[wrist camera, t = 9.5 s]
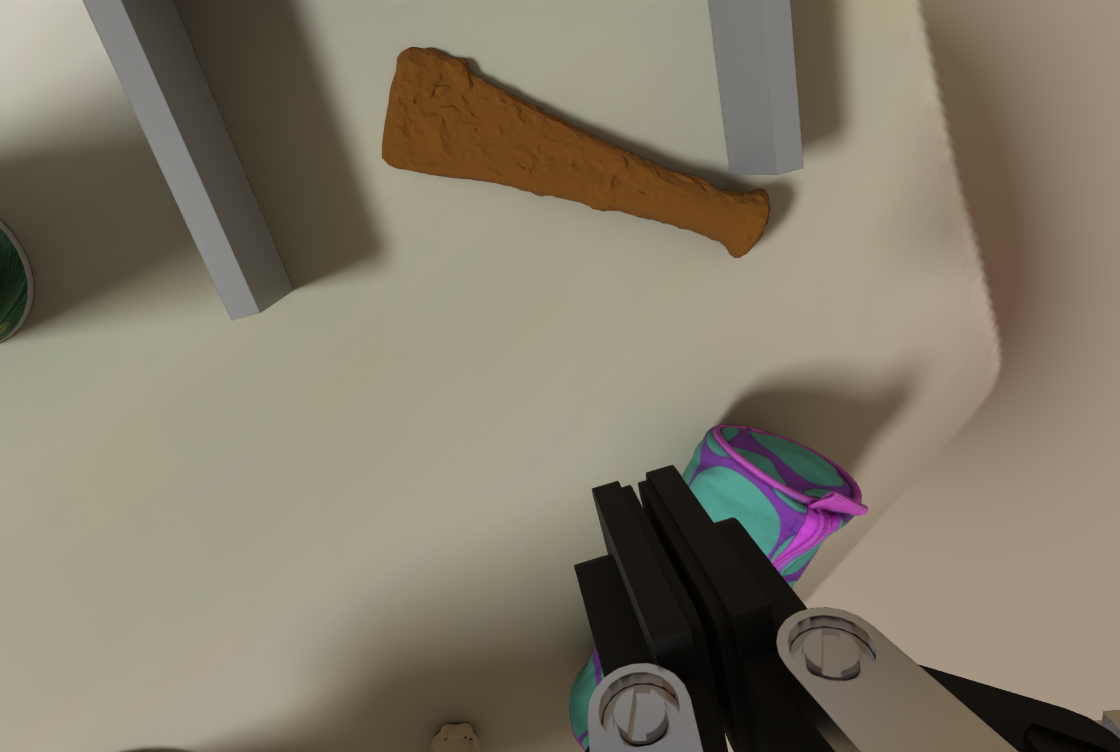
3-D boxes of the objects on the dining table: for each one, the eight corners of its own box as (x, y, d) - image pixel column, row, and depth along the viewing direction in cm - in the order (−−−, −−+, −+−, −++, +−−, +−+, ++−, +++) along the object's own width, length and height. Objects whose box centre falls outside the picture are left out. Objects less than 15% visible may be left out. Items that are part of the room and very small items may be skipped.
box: (751, 168, 30) (803, 168, 25) (270, 296, 29) (231, 320, 24) (714, -170, 25) (770, -248, 20) (127, -34, 24) (42, -85, 19)
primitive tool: (380, 163, 28) (368, 161, 25) (400, 39, 26) (390, 20, 23) (734, 258, 32) (764, 267, 29) (769, 156, 31) (805, 154, 27)
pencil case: (668, 683, 42) (722, 823, 33) (555, 660, 39) (580, 804, 30) (808, 433, 36) (919, 519, 27) (687, 390, 34) (764, 468, 25)
